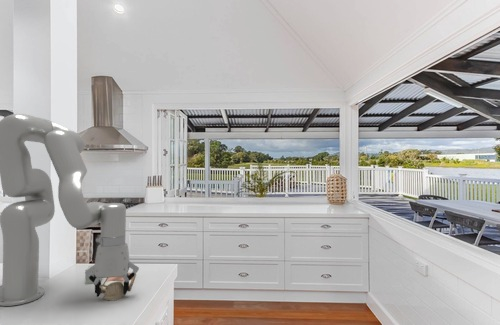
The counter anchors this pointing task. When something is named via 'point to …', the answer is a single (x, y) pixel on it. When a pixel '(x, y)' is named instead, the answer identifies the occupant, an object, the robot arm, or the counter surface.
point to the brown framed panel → (117, 279)
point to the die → (88, 277)
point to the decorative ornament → (113, 291)
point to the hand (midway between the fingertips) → (112, 293)
